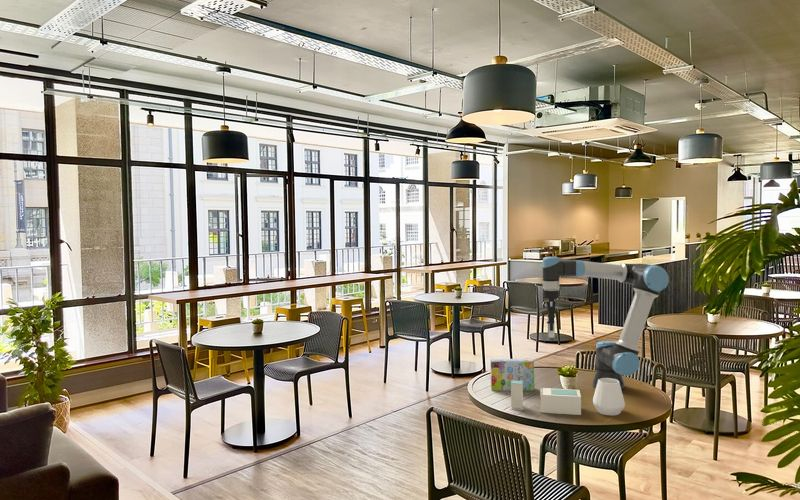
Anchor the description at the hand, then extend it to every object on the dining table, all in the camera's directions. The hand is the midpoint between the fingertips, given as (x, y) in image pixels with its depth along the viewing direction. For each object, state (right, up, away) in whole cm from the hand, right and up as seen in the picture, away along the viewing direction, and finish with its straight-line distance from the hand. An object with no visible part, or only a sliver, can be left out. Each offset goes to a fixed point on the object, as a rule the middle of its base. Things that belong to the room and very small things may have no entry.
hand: (551, 334), depth 262 cm
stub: (-18, -32, -9) cm, 38 cm away
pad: (-18, -32, -9) cm, 38 cm away
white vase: (+20, -32, -18) cm, 42 cm away
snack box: (-15, -30, +17) cm, 38 cm away
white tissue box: (0, -32, -14) cm, 35 cm away
